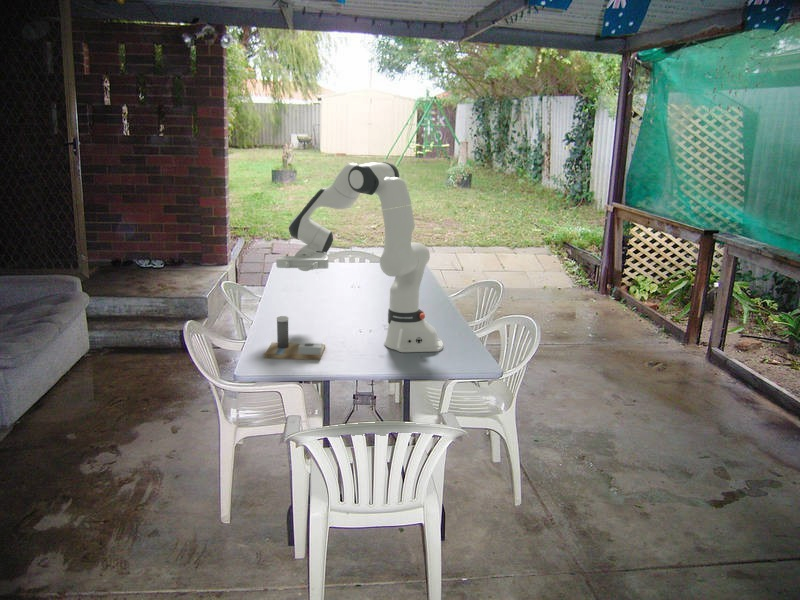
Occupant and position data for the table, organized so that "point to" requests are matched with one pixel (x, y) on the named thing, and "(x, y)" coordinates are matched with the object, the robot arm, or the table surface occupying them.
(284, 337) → the peg
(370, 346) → the table surface
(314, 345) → the block
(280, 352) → the board
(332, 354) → the table surface
